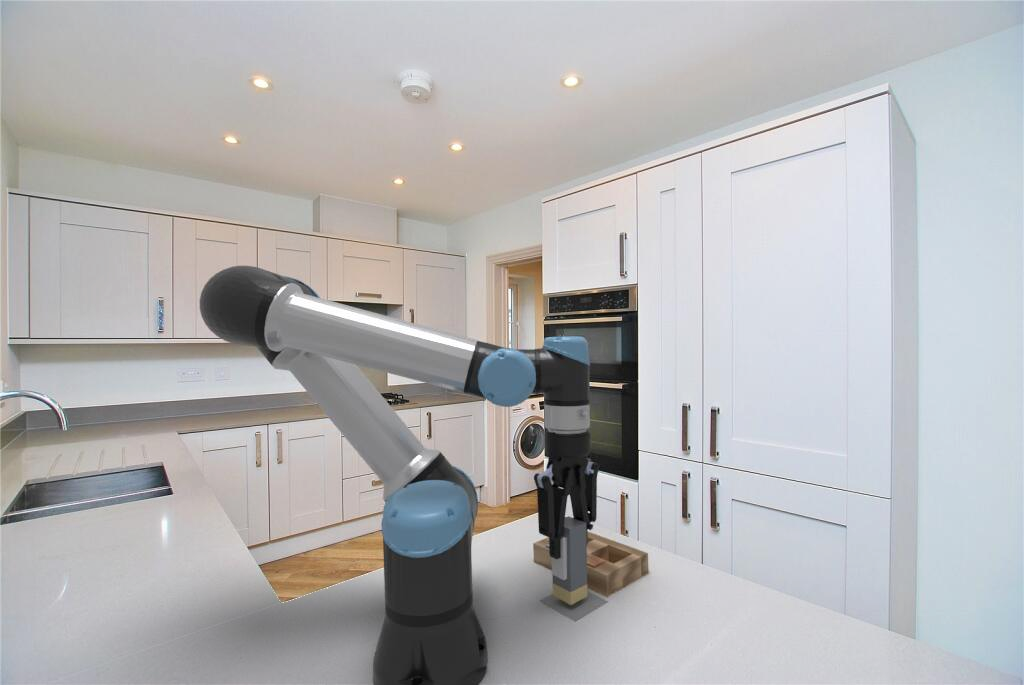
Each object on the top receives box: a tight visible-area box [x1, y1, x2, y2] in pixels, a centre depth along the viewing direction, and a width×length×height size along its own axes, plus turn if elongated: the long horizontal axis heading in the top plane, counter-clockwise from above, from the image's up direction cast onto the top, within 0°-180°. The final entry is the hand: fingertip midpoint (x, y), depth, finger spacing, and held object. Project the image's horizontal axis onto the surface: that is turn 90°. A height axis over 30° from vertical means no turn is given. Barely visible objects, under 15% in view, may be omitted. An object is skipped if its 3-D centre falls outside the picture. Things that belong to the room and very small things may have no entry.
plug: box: [552, 516, 588, 605], centre depth 77 cm, size 4×4×12 cm
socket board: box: [532, 531, 649, 598], centre depth 89 cm, size 12×18×4 cm, turn 40°
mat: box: [539, 590, 609, 622], centre depth 77 cm, size 8×8×1 cm
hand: (569, 571), depth 77 cm, fingers closed on plug, 4 cm apart
